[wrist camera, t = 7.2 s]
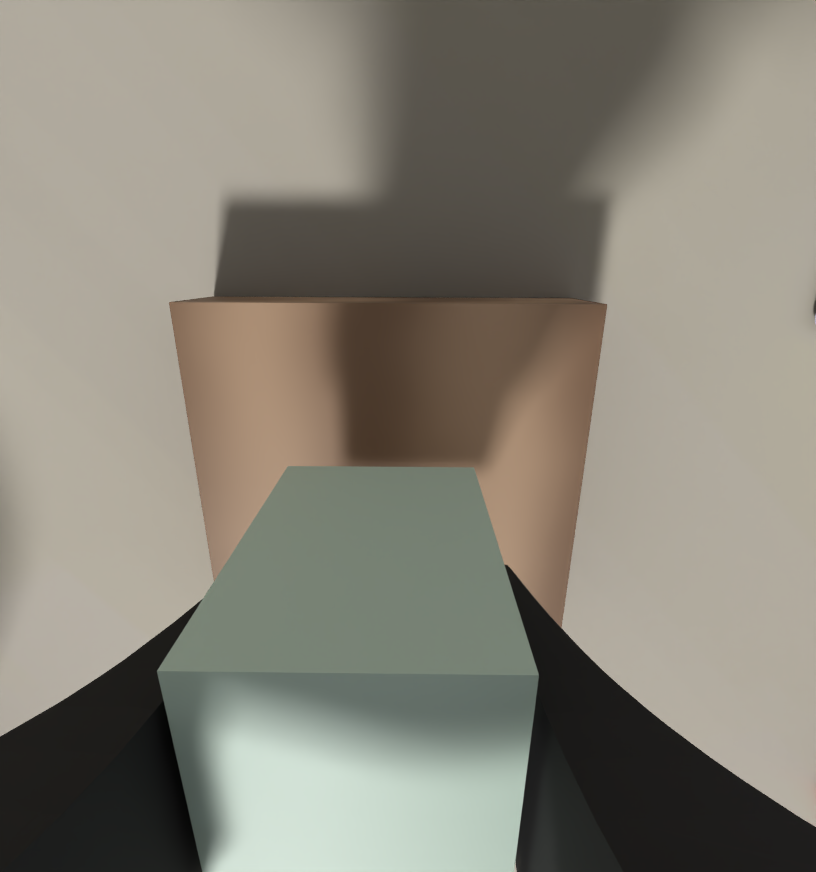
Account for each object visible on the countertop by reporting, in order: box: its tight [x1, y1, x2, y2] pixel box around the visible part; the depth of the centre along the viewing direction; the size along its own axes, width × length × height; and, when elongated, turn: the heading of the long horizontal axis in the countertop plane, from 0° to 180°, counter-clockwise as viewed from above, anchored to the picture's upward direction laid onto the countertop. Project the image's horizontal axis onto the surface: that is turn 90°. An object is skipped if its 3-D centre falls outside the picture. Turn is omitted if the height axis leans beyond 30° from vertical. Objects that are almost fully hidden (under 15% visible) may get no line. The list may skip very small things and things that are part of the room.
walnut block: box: [169, 297, 607, 627], centre depth 16 cm, size 12×12×3 cm
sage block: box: [157, 466, 539, 872], centre depth 9 cm, size 4×4×6 cm
